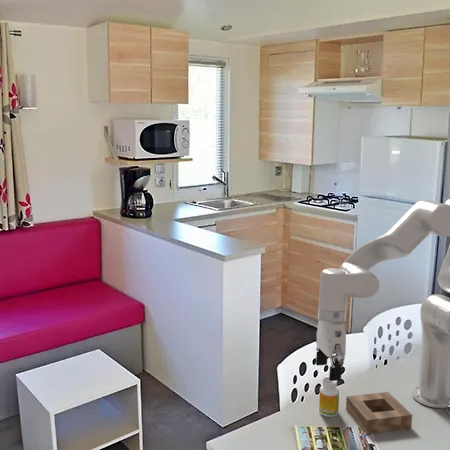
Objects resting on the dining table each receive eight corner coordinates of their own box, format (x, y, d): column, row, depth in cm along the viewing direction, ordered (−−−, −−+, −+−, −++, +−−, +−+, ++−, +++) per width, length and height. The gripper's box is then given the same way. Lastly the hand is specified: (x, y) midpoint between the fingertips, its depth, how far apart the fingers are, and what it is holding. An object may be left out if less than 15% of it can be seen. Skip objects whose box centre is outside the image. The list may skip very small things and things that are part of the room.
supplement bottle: (338, 418, 155) (339, 385, 153) (318, 416, 156) (319, 384, 154) (338, 408, 160) (339, 377, 158) (319, 406, 161) (320, 375, 159)
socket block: (387, 404, 162) (388, 391, 161) (411, 428, 150) (412, 414, 149) (345, 409, 159) (346, 396, 159) (366, 434, 147) (367, 420, 146)
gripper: (358, 324, 145) (353, 385, 148) (332, 303, 161) (328, 358, 165) (331, 325, 143) (327, 387, 146) (307, 304, 160) (304, 360, 163)
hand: (327, 372), depth 155 cm, fingers open, 9 cm apart
